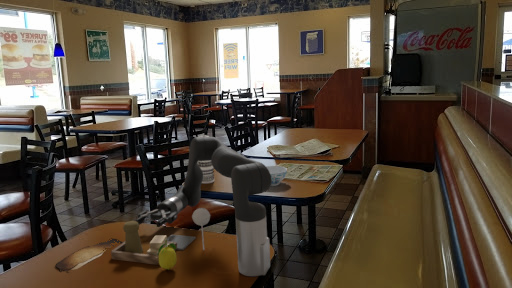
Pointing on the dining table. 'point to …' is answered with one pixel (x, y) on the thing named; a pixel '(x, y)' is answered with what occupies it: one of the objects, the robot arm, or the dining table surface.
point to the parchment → (84, 256)
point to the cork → (132, 237)
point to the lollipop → (201, 219)
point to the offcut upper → (158, 243)
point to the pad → (181, 240)
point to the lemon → (167, 256)
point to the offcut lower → (154, 252)
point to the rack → (135, 255)
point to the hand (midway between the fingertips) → (147, 223)
